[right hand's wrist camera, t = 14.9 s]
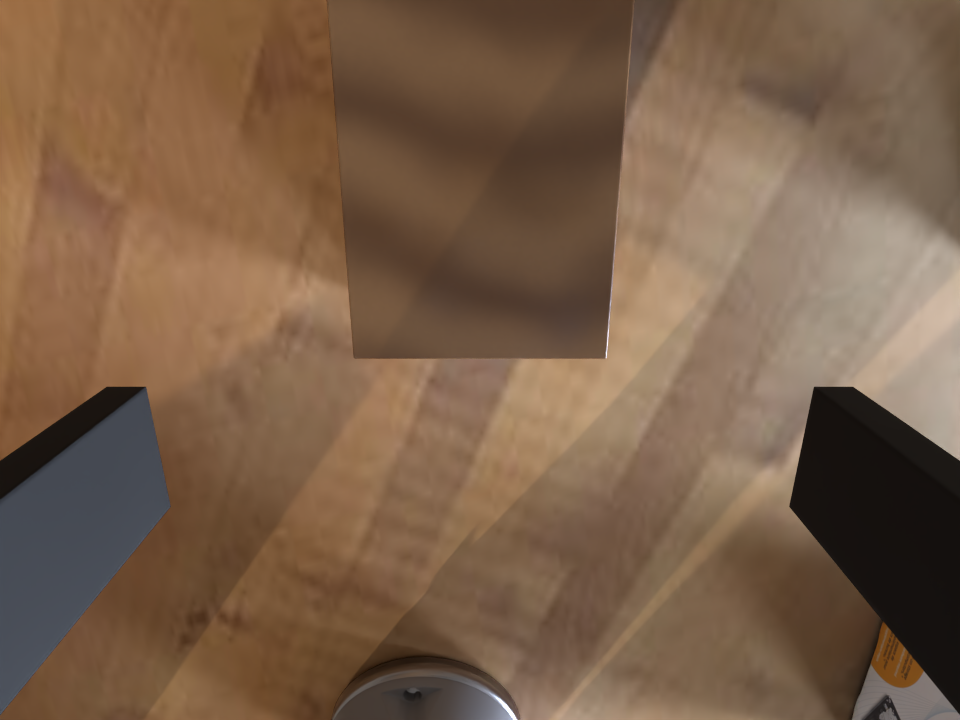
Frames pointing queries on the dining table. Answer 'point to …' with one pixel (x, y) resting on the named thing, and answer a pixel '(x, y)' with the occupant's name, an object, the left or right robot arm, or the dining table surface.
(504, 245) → the cabinet
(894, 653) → the hard drive box
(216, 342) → the dining table surface
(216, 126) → the dining table surface
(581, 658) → the dining table surface
